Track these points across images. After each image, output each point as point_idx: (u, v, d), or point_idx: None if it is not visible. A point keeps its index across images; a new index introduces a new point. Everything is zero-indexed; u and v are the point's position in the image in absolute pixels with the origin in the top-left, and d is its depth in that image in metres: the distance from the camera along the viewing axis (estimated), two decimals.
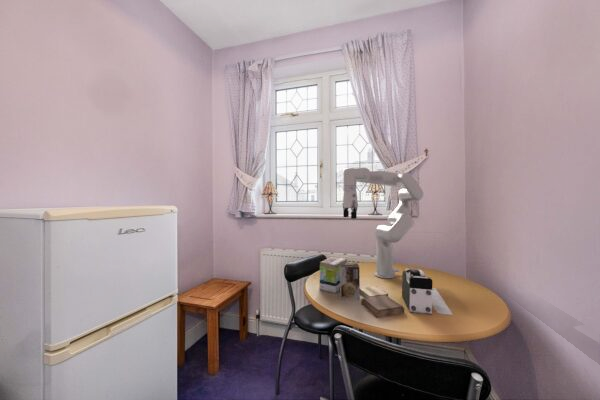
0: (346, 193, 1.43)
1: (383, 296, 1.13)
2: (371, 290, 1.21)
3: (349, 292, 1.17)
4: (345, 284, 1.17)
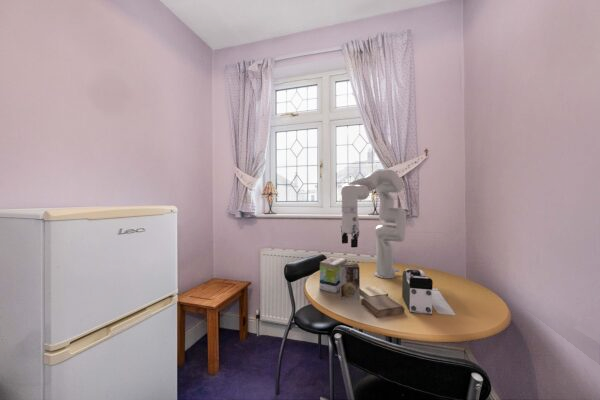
0: (345, 216, 1.18)
1: (383, 296, 1.13)
2: (371, 290, 1.21)
3: (349, 292, 1.17)
4: (345, 284, 1.17)
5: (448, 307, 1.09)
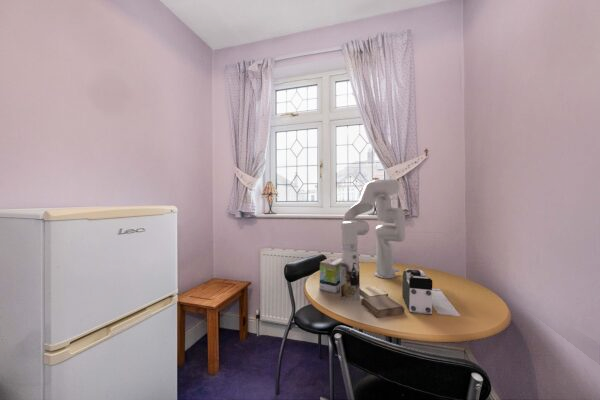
0: (345, 252, 1.18)
1: (383, 296, 1.13)
2: (371, 290, 1.21)
3: (349, 291, 1.17)
4: (345, 284, 1.17)
5: (448, 307, 1.08)
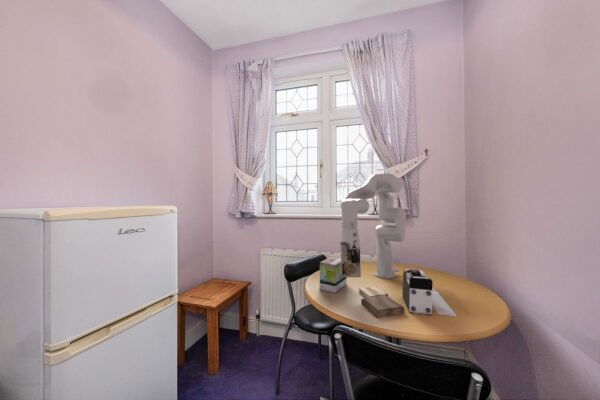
0: (345, 231, 1.18)
1: (383, 296, 1.13)
2: (371, 290, 1.21)
3: (350, 269, 1.17)
4: (346, 262, 1.17)
5: (448, 308, 1.08)
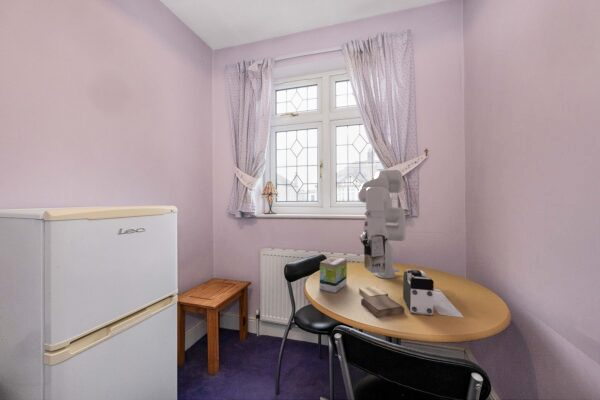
0: None
1: (383, 296, 1.13)
2: (371, 290, 1.21)
3: (367, 261, 1.10)
4: None
5: (449, 308, 1.07)
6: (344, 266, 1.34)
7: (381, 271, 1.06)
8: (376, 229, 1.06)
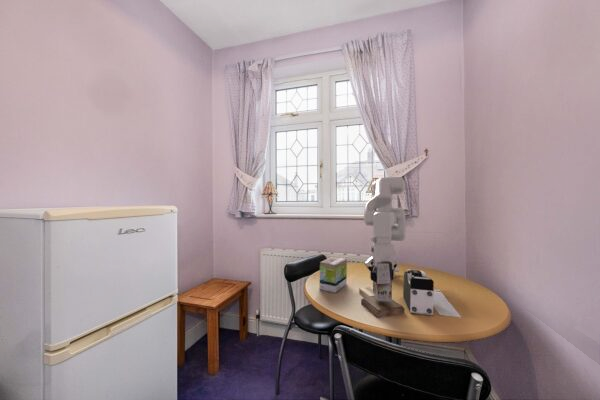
0: None
1: None
2: (371, 290, 1.21)
3: (374, 287, 1.08)
4: None
5: (450, 308, 1.07)
6: (344, 266, 1.34)
7: (387, 299, 1.03)
8: (382, 256, 1.04)
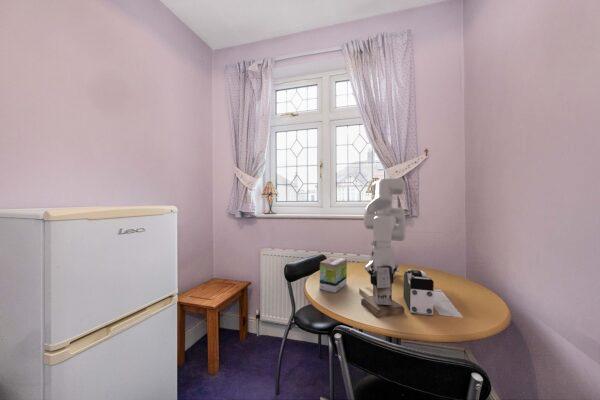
0: None
1: None
2: (371, 290, 1.21)
3: (374, 291, 1.08)
4: None
5: (450, 308, 1.07)
6: (344, 266, 1.34)
7: (387, 303, 1.03)
8: (382, 260, 1.04)
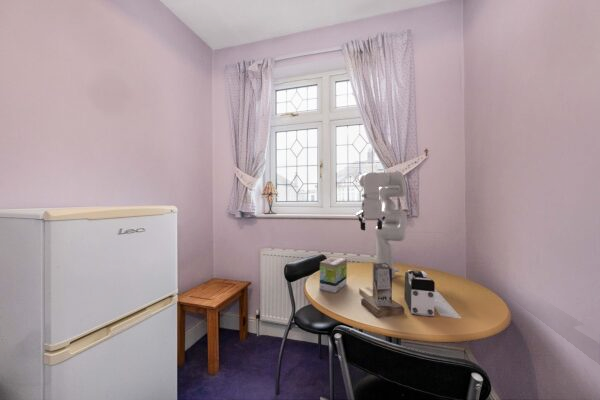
0: None
1: None
2: (371, 290, 1.21)
3: (374, 292, 1.08)
4: (373, 283, 1.10)
5: (451, 309, 1.06)
6: (344, 266, 1.34)
7: (387, 305, 1.03)
8: (371, 209, 1.22)
